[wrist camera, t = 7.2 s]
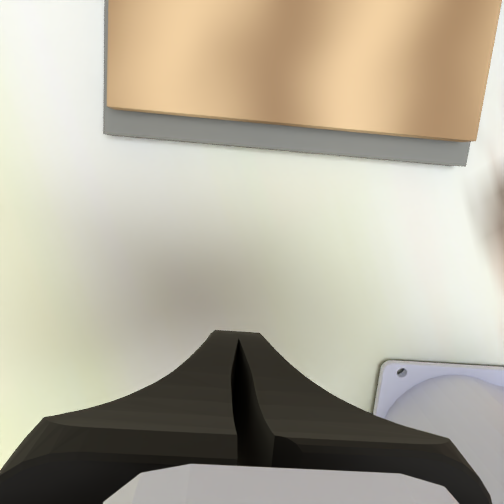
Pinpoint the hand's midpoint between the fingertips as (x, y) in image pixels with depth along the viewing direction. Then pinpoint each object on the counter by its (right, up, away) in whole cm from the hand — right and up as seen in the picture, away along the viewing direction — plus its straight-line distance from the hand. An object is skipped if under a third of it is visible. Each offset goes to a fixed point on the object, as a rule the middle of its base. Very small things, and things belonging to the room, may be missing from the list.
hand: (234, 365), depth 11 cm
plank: (+3, +12, +6) cm, 14 cm away
